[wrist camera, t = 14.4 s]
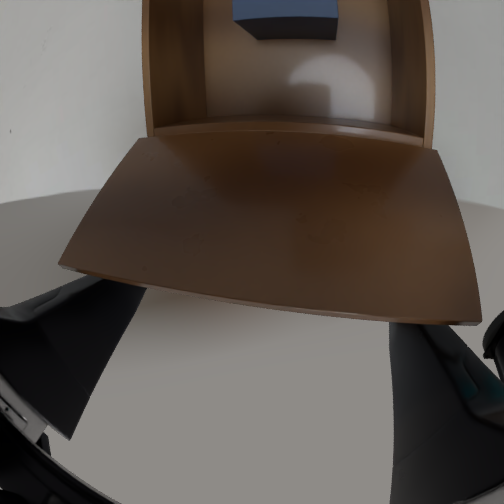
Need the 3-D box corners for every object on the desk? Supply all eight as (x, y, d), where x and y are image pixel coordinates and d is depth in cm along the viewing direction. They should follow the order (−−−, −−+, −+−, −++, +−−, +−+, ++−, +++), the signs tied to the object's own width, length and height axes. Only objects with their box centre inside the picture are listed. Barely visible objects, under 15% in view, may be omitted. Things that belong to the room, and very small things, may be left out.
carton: (395, 131, 14) (432, 149, 8) (204, 122, 16) (147, 137, 11) (383, -45, 7) (400, -93, 2) (200, -40, 10) (150, -76, 5)
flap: (437, 150, 8) (435, 156, 8) (138, 138, 10) (141, 143, 11) (483, 321, 4) (476, 326, 5) (57, 263, 7) (62, 268, 7)
